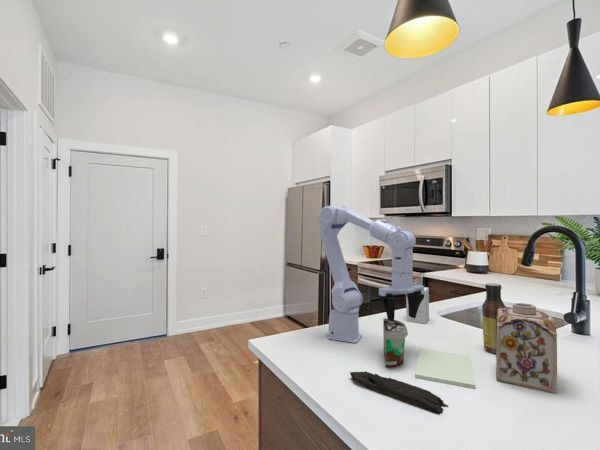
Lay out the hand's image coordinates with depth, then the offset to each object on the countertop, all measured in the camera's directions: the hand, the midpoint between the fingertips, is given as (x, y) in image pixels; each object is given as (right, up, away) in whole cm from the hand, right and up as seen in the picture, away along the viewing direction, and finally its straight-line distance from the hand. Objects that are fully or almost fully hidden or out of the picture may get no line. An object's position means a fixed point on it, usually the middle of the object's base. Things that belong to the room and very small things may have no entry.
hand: (401, 318), depth 93 cm
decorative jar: (+26, -10, -15) cm, 31 cm away
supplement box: (+17, -10, +32) cm, 37 cm away
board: (+8, -10, -9) cm, 16 cm away
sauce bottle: (+28, -10, +2) cm, 30 cm away
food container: (-3, -10, -5) cm, 12 cm away
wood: (-8, -11, -21) cm, 25 cm away
